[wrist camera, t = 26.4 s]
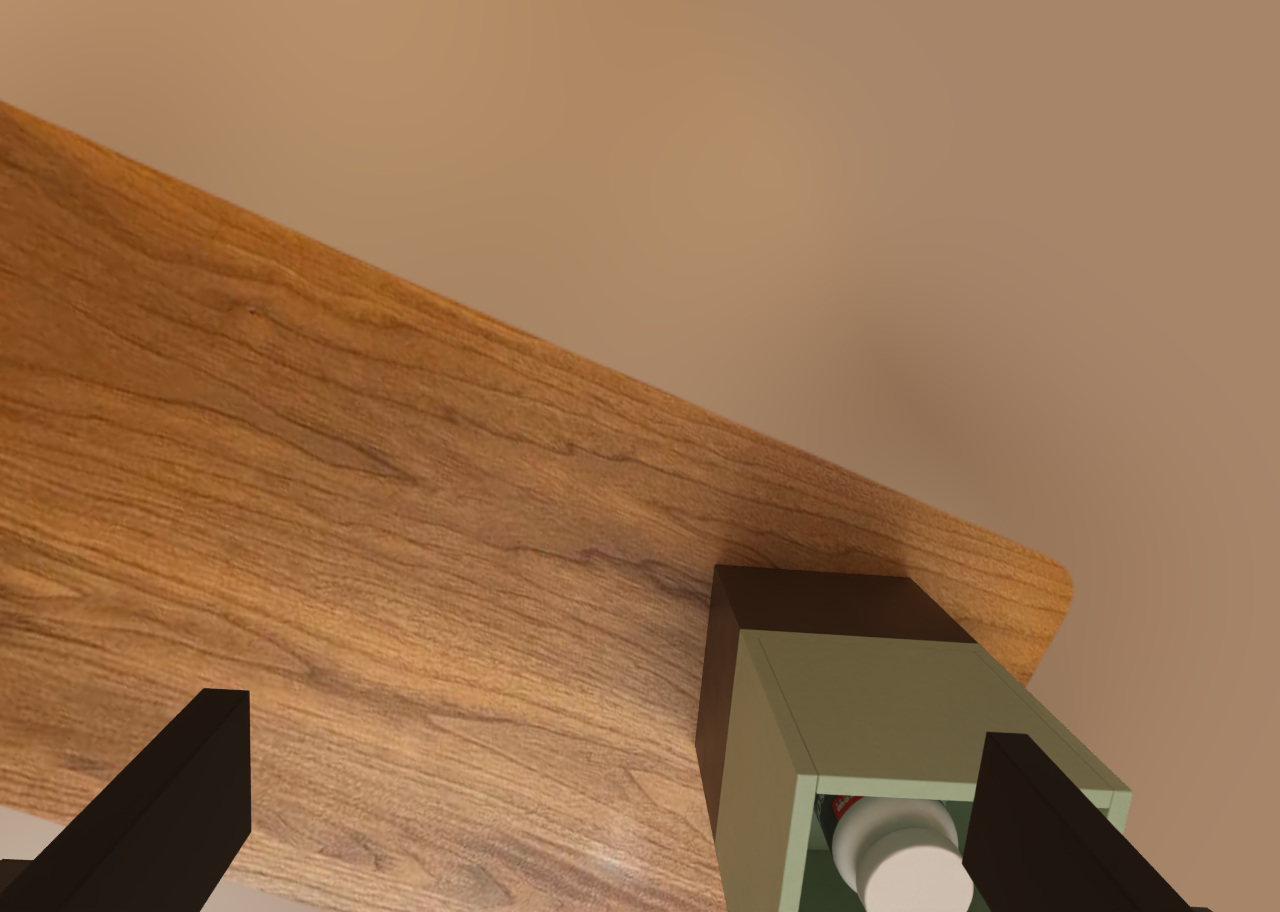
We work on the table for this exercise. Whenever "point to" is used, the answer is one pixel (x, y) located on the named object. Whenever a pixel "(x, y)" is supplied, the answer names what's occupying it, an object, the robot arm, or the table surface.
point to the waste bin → (848, 724)
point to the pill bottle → (896, 852)
